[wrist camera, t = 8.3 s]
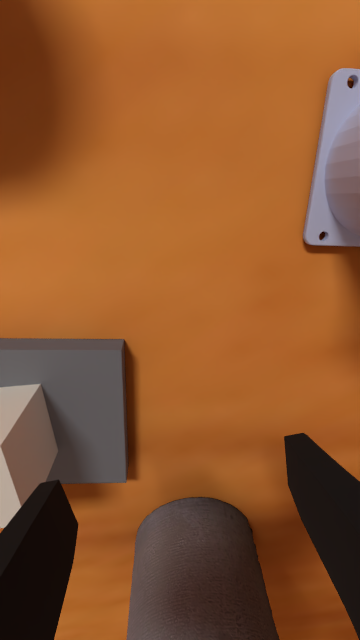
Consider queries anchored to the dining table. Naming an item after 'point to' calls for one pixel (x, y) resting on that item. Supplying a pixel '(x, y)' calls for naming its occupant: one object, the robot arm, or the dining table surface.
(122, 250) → the dining table surface
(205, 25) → the dining table surface
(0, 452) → the cube
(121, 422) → the serving board
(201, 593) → the pillar candle
